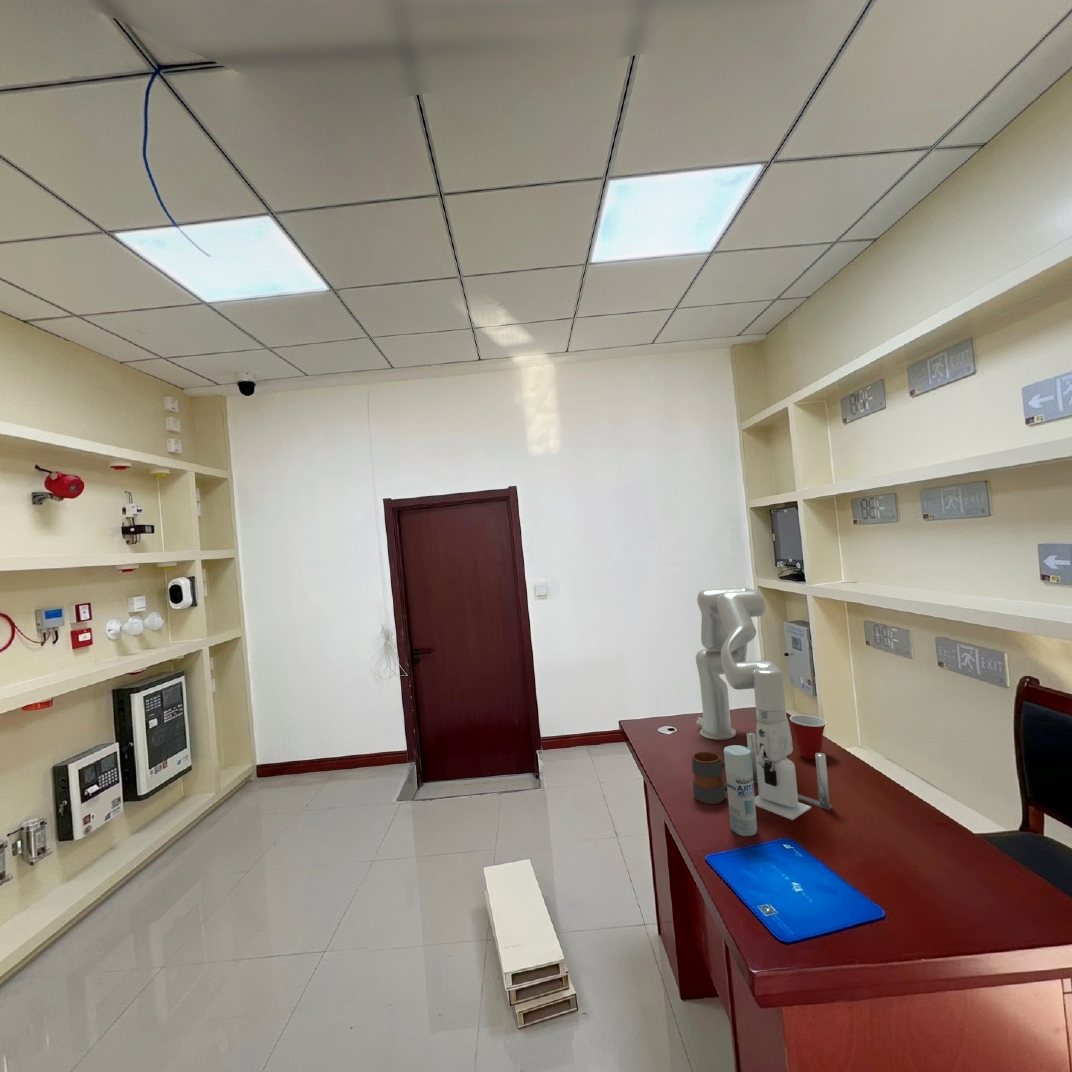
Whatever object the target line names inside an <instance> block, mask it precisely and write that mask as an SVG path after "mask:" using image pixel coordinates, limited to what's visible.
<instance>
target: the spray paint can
mask: <svg viewBox="0 0 1072 1072" xmlns="http://www.w3.org/2000/svg"><path fill="white" fill-rule="evenodd" d="M723 756H724V762H725V767H724V768H725V779H726V784H727V791H726V792H727V800H728V810H729V811H728V813H729V822H730V828H731V829H730V831H732V833H734V834H735V835H739V836H742V837H752V836H754V835H756V834H757V832H758V824H757V811H756V810H757V809H756V806H755V797H756V795H755V785H754V784H755V783H753V770H752V757H751V750H750V749H749V748H748V746H744V745H738V744H737V745H736V744H734V745H728V746H725V747H724V749H723Z"/></svg>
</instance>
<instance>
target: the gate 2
mask: <svg viewBox="0 0 1072 1072" xmlns="http://www.w3.org/2000/svg"><path fill="white" fill-rule="evenodd" d="M815 756H816V759H815V765H816V777H817V788H818V800H817V799H814V798H811V797H807V796H805V795H803V794H799V793H798V801H801V802H804V803H806V804H809V805H812V806H814V807H818V808H820V809H823V810H826V811H830V810H831V809H833V805H832V804H830V793H829V783H828V782H829V781H828V769H827V758H826V757H827V756H826V754H825V753H822V752H821V753H816V754H815Z"/></svg>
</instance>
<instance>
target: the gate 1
mask: <svg viewBox="0 0 1072 1072" xmlns="http://www.w3.org/2000/svg"><path fill="white" fill-rule="evenodd" d="M746 742H747V743H746V744H747V748H749V749H750V750H751V757H752V770H753V783H754V784H757V785H758V779H757V768H756V758H757V755H758V753H757V743H756V732H755V733H754V732H750V731H749V732H746Z"/></svg>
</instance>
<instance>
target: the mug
mask: <svg viewBox="0 0 1072 1072" xmlns="http://www.w3.org/2000/svg"><path fill="white" fill-rule="evenodd" d="M691 763H692V765H691V766H692V773H693V780H692V781H693V782H692V786H693V787H692V789H693V790H692V791H693V796H694V797H695V799H696V801H698V802H700V803H702V804H705V805H706V804H707V805H718V804H721V803H722V802H723V801H724V800H725V798H726V792H727V783H726V784H725V782H724V780H723V768H725V761H722V758H721V756H720V755H719V754H717V753H715V752H710V751H699V752H696V753H694V754H693V755H692V756H691Z"/></svg>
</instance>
